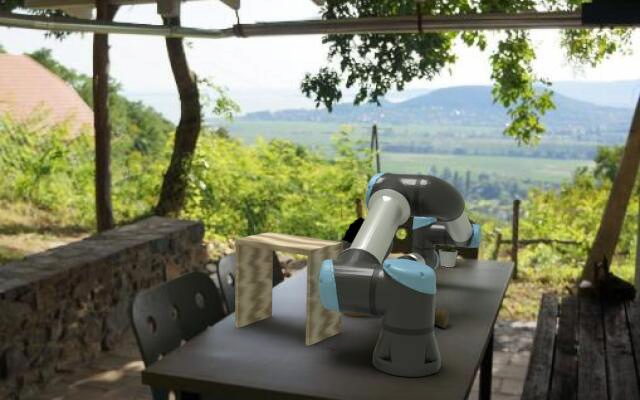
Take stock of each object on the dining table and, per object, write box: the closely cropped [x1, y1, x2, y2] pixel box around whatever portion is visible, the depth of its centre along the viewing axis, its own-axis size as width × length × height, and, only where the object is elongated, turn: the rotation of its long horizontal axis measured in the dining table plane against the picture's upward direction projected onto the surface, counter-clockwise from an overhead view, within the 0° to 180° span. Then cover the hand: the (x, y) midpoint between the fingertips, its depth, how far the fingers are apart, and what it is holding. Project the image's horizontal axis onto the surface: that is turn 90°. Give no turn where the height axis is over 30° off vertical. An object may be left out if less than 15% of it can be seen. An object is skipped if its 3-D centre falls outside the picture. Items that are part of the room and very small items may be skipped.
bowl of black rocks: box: [339, 216, 394, 262], centre depth 259 cm, size 20×20×19 cm
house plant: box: [438, 245, 459, 267], centre depth 261 cm, size 14×14×16 cm
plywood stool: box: [234, 231, 343, 347], centre depth 178 cm, size 14×24×24 cm, turn 55°
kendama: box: [434, 307, 450, 329], centre depth 183 cm, size 6×10×20 cm
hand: (374, 277), depth 203 cm, fingers open, 13 cm apart
